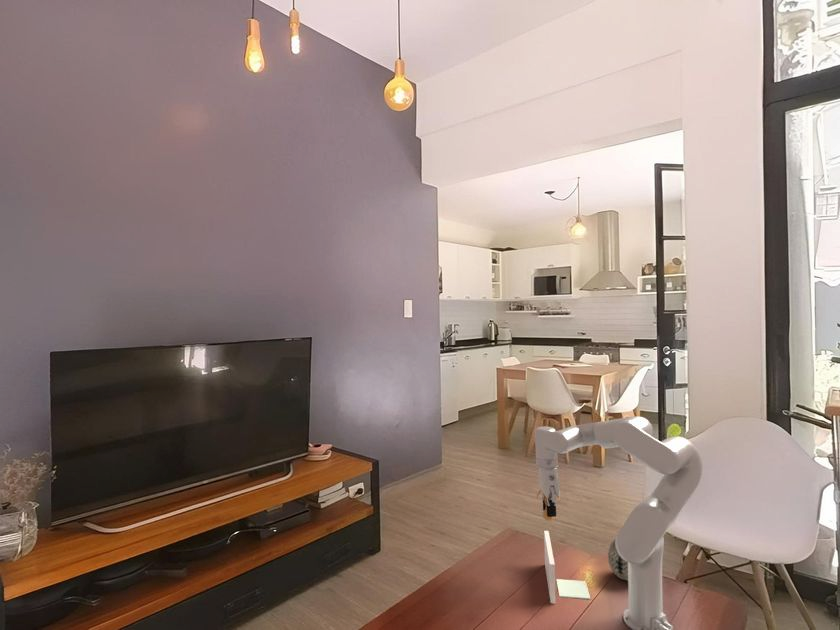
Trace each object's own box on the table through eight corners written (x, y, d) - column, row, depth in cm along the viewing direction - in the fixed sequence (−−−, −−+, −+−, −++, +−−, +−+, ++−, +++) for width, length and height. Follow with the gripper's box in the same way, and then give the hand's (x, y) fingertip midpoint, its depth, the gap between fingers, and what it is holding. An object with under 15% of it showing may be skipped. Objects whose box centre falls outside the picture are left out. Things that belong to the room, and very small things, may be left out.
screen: (555, 603, 157) (554, 564, 156) (550, 603, 157) (549, 564, 157) (549, 565, 180) (548, 530, 180) (544, 564, 181) (544, 530, 180)
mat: (590, 599, 158) (590, 598, 158) (559, 596, 160) (559, 595, 160) (585, 582, 168) (585, 581, 168) (556, 580, 170) (556, 579, 170)
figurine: (535, 521, 169) (534, 487, 169) (538, 514, 175) (537, 482, 175) (559, 524, 166) (558, 490, 166) (562, 517, 171) (560, 484, 171)
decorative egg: (648, 577, 170) (648, 536, 170) (637, 592, 162) (636, 548, 162) (615, 566, 178) (615, 526, 178) (603, 579, 170) (602, 537, 170)
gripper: (565, 468, 161) (568, 523, 161) (550, 455, 178) (552, 504, 178) (543, 470, 161) (546, 524, 161) (530, 456, 178) (533, 505, 178)
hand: (549, 513), depth 169 cm, fingers closed on figurine, 3 cm apart
